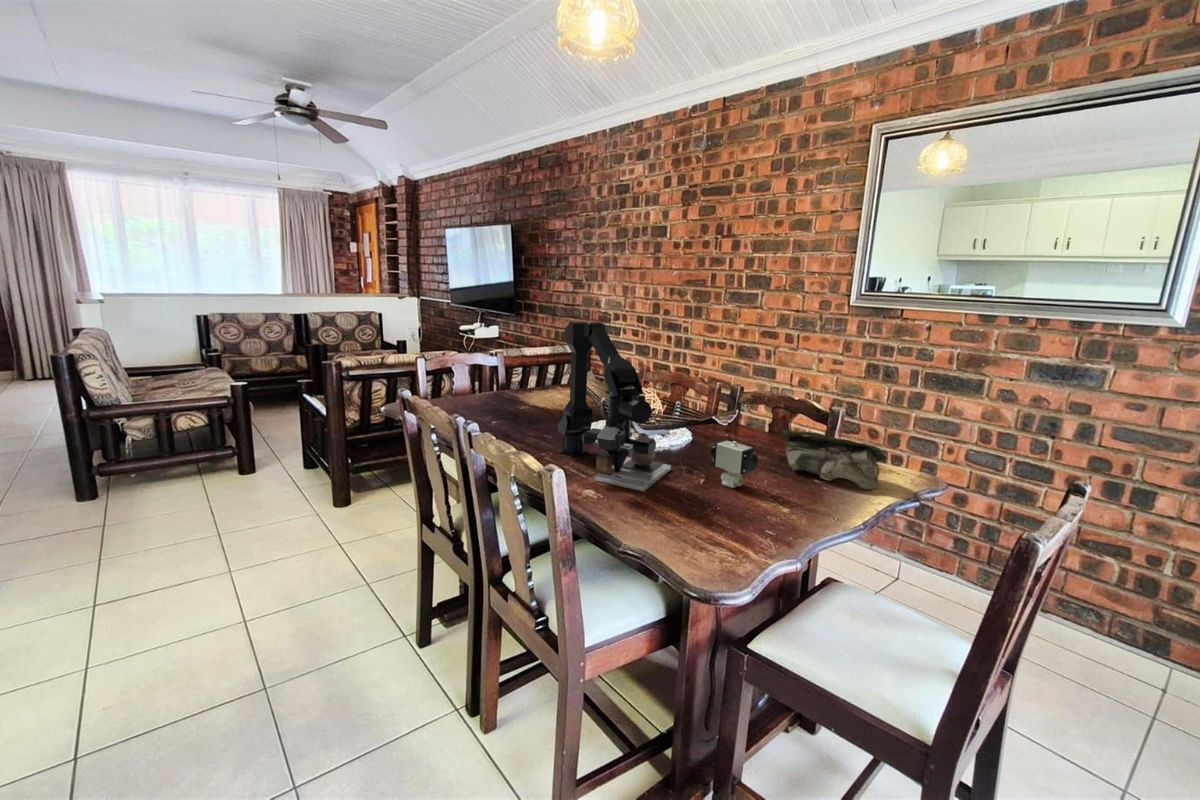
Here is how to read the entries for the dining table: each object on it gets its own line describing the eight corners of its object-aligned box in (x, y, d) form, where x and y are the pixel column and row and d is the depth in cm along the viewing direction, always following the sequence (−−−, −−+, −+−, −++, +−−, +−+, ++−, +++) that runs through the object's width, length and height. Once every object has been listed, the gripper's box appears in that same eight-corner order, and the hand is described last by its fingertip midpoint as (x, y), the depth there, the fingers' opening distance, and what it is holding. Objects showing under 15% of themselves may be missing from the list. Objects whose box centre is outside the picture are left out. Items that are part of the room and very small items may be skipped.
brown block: (595, 474, 143) (596, 455, 142) (602, 470, 146) (602, 452, 145) (606, 476, 141) (606, 458, 140) (612, 472, 145) (613, 454, 143)
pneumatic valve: (745, 494, 136) (749, 448, 133) (707, 481, 144) (710, 437, 141) (757, 489, 139) (761, 444, 137) (719, 476, 148) (723, 434, 145)
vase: (654, 469, 148) (656, 438, 146) (629, 468, 148) (630, 437, 146) (653, 460, 154) (654, 431, 152) (629, 459, 154) (630, 430, 153)
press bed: (595, 480, 142) (595, 472, 141) (626, 460, 158) (626, 453, 158) (643, 491, 136) (644, 483, 135) (671, 469, 152) (671, 462, 151)
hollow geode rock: (775, 480, 159) (763, 453, 149) (790, 445, 164) (778, 416, 154) (879, 505, 141) (872, 475, 131) (891, 464, 146) (886, 433, 136)
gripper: (572, 415, 136) (571, 474, 139) (640, 426, 127) (637, 489, 131) (593, 407, 145) (592, 462, 149) (658, 417, 137) (655, 475, 140)
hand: (617, 472), depth 142 cm, fingers closed
